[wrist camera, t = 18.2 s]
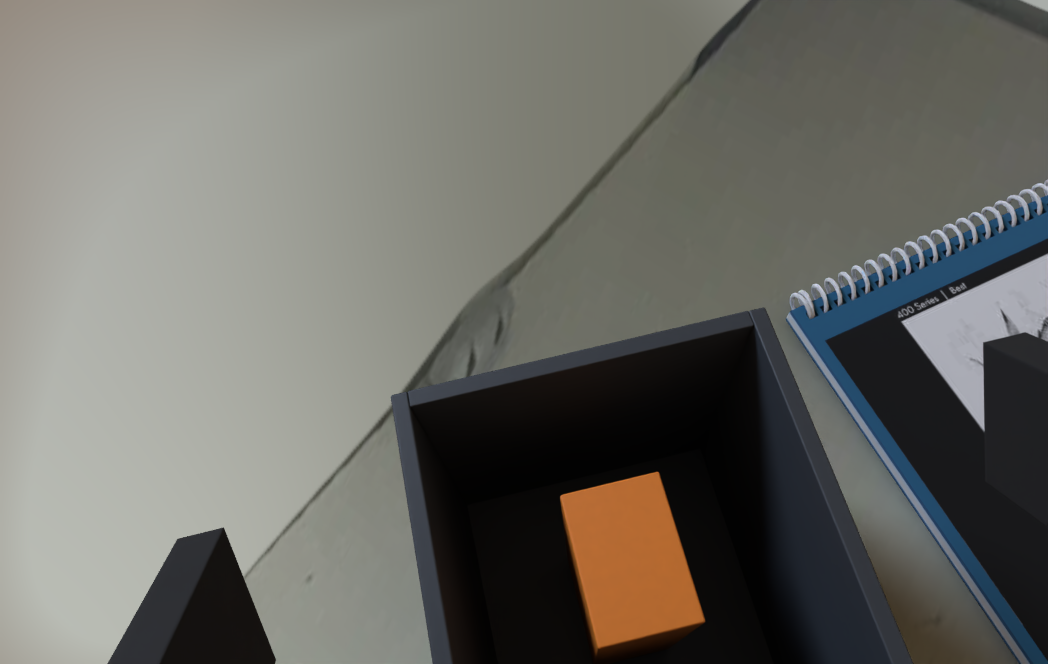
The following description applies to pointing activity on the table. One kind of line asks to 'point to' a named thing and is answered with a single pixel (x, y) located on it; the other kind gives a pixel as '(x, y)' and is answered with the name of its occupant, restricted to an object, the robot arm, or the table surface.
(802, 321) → the sketchbook
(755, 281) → the table surface
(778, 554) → the bin
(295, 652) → the table surface
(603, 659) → the block
